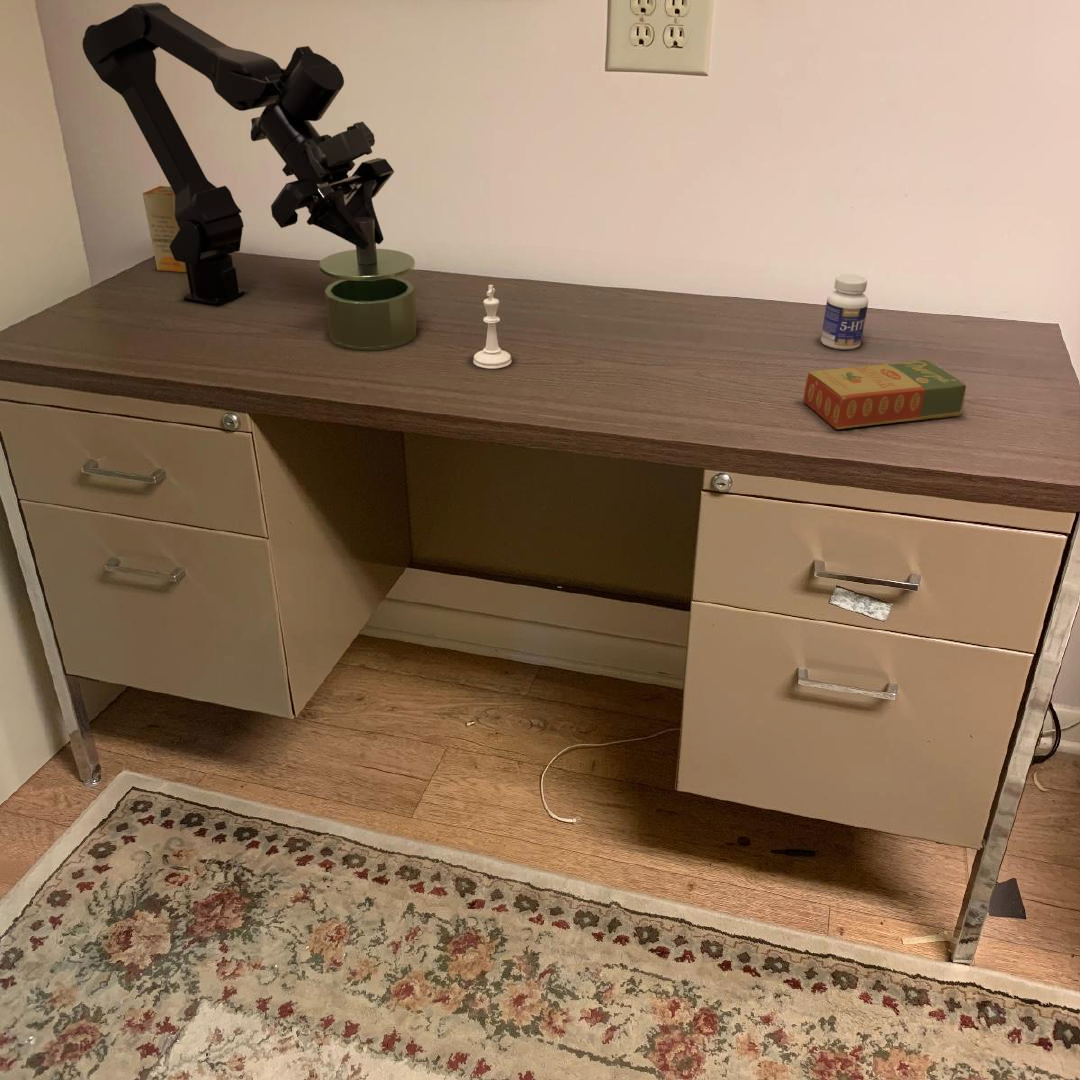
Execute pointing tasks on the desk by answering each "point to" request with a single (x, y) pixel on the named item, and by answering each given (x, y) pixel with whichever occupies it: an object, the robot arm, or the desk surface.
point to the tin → (371, 313)
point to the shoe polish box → (163, 226)
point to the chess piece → (491, 338)
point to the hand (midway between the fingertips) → (374, 244)
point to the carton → (884, 394)
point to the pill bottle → (845, 313)
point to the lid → (367, 260)
